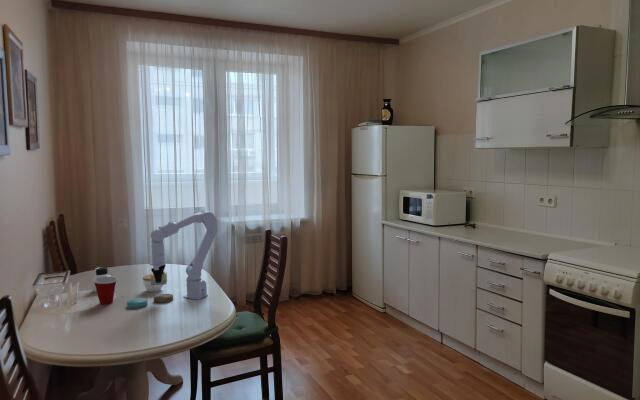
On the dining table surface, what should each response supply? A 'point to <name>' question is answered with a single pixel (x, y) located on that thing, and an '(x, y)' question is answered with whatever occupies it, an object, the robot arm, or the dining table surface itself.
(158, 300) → the stand
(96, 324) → the dining table surface
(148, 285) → the lidded jar
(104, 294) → the plastic cup
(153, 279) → the block
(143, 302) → the stand
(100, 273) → the medicine bottle
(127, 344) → the dining table surface
